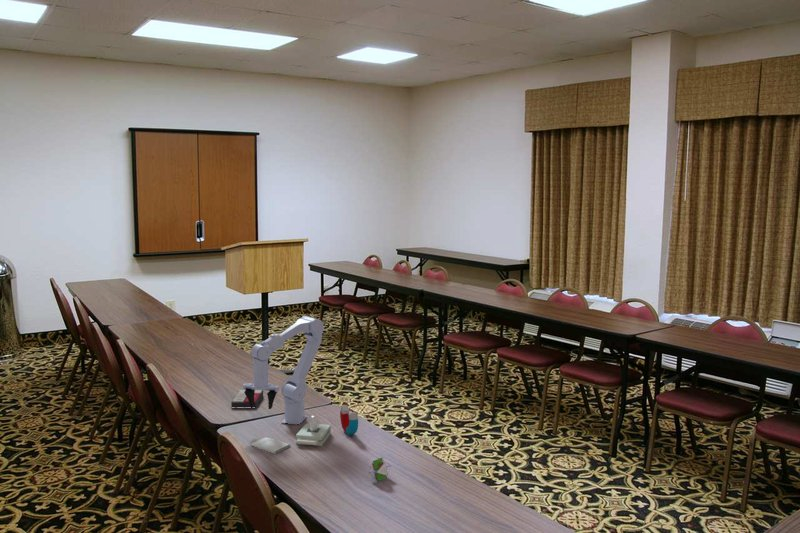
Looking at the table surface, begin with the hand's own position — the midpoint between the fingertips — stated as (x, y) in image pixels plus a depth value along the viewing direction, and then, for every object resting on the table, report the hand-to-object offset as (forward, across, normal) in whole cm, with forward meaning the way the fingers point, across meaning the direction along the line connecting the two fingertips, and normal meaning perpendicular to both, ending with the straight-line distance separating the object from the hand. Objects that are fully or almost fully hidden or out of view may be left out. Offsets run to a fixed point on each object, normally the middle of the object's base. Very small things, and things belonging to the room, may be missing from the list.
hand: (261, 407), depth 248 cm
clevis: (+9, +23, -4) cm, 25 cm away
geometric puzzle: (+10, +55, -31) cm, 64 cm away
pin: (+9, +23, -4) cm, 25 cm away
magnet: (+10, +35, +4) cm, 37 cm away
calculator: (+10, -19, +29) cm, 36 cm away
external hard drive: (+10, +9, -14) cm, 20 cm away
